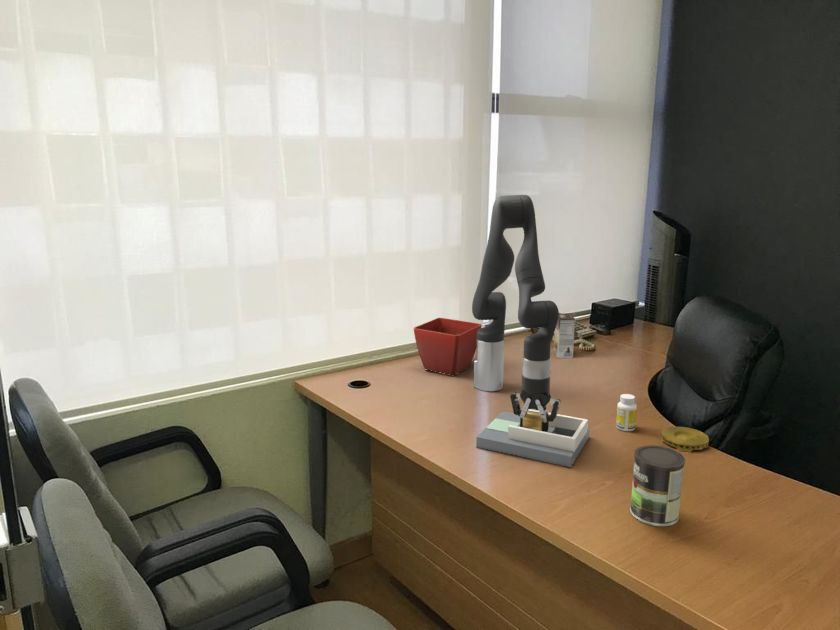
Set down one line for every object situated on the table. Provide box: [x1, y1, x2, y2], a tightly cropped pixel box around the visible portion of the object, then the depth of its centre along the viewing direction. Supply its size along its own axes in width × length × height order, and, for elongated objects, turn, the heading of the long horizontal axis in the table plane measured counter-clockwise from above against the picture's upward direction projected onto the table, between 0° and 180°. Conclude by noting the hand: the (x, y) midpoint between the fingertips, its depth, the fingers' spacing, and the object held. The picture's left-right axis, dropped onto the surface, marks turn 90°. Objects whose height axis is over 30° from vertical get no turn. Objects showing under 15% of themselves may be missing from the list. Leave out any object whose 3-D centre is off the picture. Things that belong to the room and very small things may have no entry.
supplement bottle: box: [615, 393, 638, 432], centre depth 182 cm, size 5×5×10 cm
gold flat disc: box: [661, 426, 710, 452], centre depth 174 cm, size 12×12×2 cm
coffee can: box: [629, 444, 686, 528], centre depth 137 cm, size 10×10×14 cm
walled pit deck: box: [475, 409, 591, 468], centre depth 174 cm, size 26×20×6 cm
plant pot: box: [413, 317, 482, 376], centre depth 234 cm, size 19×19×17 cm
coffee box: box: [553, 312, 576, 359], centre depth 249 cm, size 9×6×16 cm
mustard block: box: [523, 412, 543, 431], centre depth 173 cm, size 5×5×4 cm
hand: (534, 431), depth 174 cm, fingers closed on mustard block, 5 cm apart
